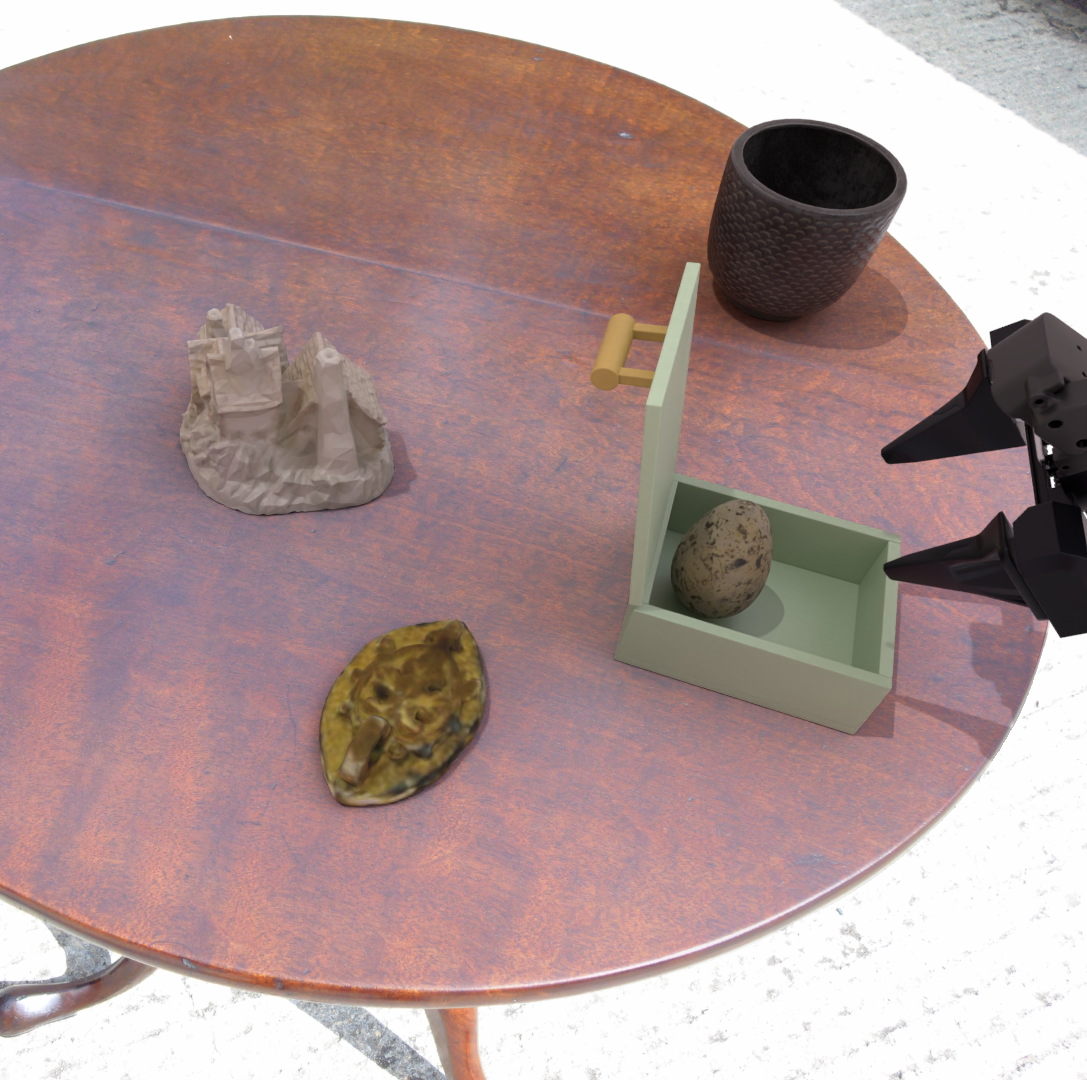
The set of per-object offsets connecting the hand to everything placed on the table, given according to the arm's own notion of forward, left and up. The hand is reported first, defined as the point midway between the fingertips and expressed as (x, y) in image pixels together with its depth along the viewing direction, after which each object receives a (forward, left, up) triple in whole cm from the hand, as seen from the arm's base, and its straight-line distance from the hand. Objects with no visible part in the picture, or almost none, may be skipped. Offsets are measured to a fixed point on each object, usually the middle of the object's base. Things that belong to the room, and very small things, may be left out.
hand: (884, 512), depth 63 cm
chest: (+4, 0, -13) cm, 14 cm away
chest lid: (+13, -1, +1) cm, 13 cm away
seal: (+25, +13, -13) cm, 31 cm away
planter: (+3, -37, -13) cm, 39 cm away
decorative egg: (+7, 0, -12) cm, 14 cm away
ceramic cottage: (+39, -8, -13) cm, 42 cm away
